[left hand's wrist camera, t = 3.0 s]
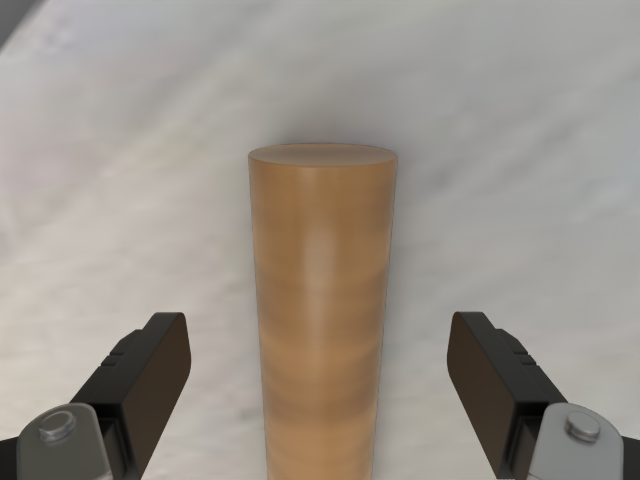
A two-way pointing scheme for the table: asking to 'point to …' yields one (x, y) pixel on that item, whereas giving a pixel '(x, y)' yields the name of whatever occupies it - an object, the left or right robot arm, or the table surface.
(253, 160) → the rod
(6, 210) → the table surface
